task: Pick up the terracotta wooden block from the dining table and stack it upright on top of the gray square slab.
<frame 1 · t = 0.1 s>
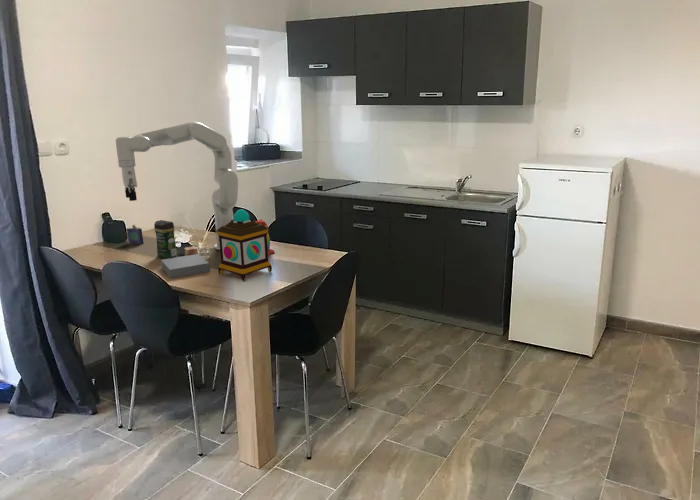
hand: (131, 198, 281), 31 cm above the table, tool pointing down, fingers open, 9 cm apart
terracotta block: (191, 259, 289), on the table
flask: (136, 244, 321), on the table
coffee jar: (167, 256, 296), on the table
stacking bear: (262, 254, 296), on the table
gray square slab: (185, 269, 273), on the table
decorative lantern: (245, 273, 266), on the table
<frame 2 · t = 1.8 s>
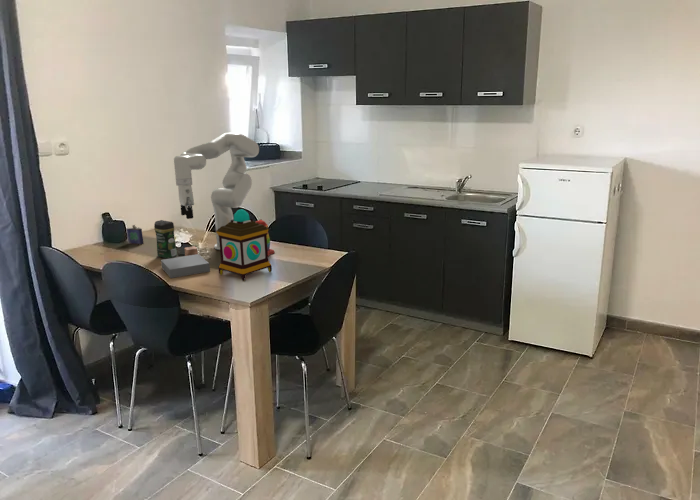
hand: (187, 216, 283), 22 cm above the table, tool pointing down, fingers open, 9 cm apart
nothing on the table moved.
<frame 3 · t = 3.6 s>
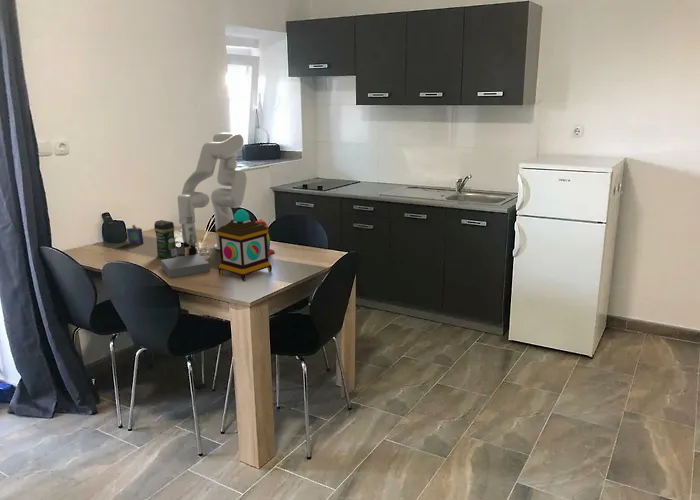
hand: (190, 253, 288), 3 cm above the table, tool pointing down, fingers open, 9 cm apart
nothing on the table moved.
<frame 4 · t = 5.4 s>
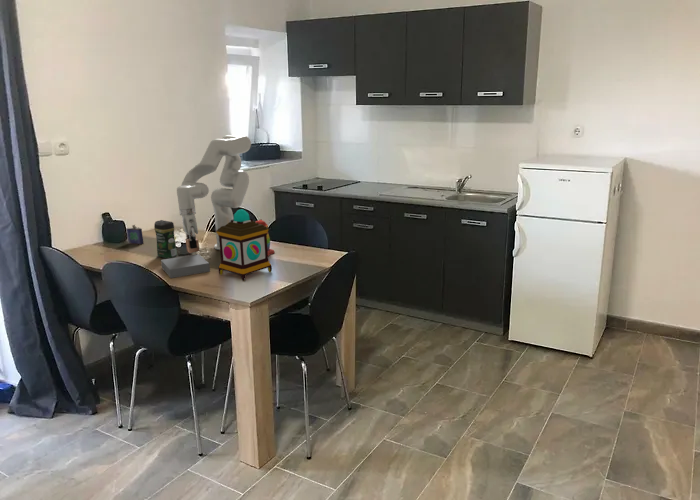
hand: (192, 246, 288), 7 cm above the table, tool pointing down, fingers closed on terracotta block, 4 cm apart
terracotta block: (193, 250, 289), point 4 cm above the table, touching gripper
everything else where it was.
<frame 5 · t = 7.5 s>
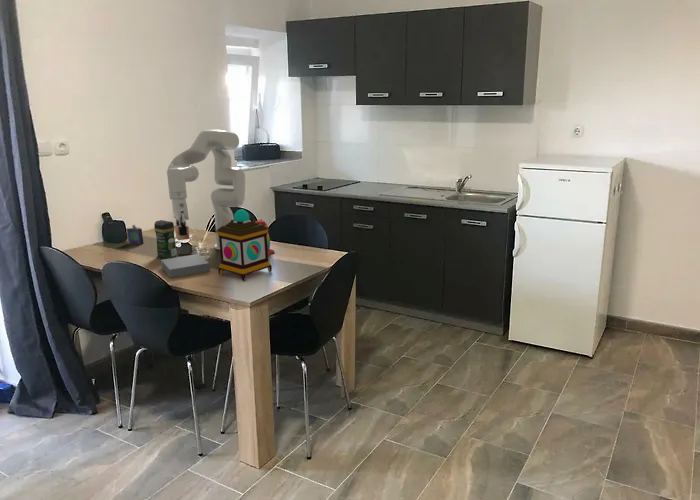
hand: (181, 233, 269), 17 cm above the table, tool pointing down, fingers closed on terracotta block, 4 cm apart
terracotta block: (182, 238, 269), point 15 cm above the table, touching gripper
everything else where it was.
when the fingers open (6 cm above the table, at t = 9.9 s): terracotta block stays where it is, resting on gray square slab.
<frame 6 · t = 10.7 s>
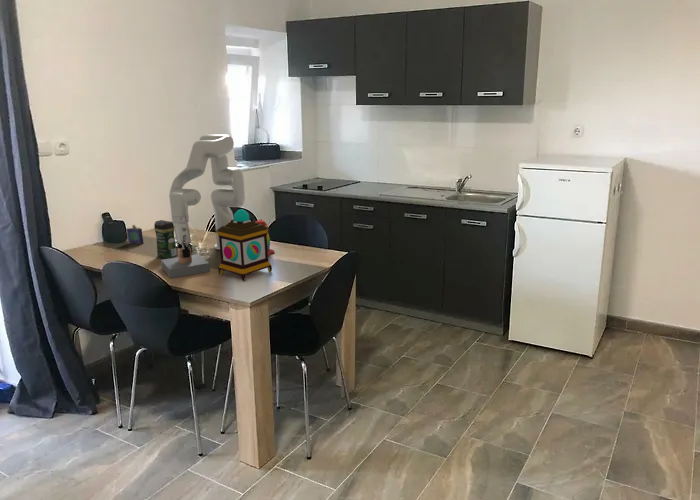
hand: (184, 254, 271), 7 cm above the table, tool pointing down, fingers open, 9 cm apart
terracotta block: (185, 261, 272), point 4 cm above the table, touching gray square slab
everything else where it was.
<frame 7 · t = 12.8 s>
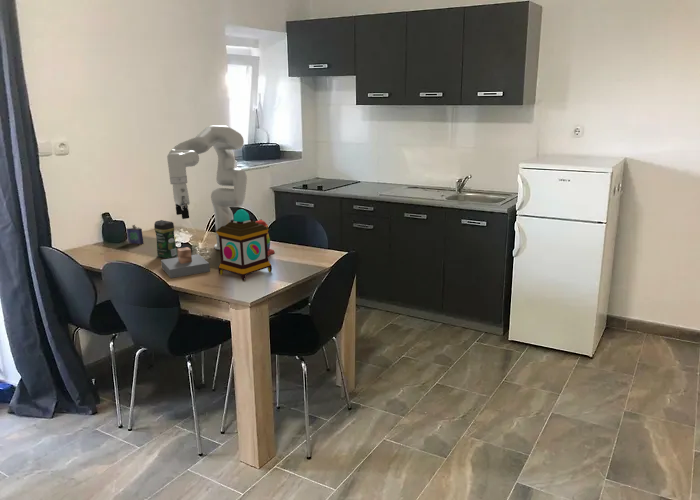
hand: (182, 216, 271), 25 cm above the table, tool pointing down, fingers open, 9 cm apart
nothing on the table moved.
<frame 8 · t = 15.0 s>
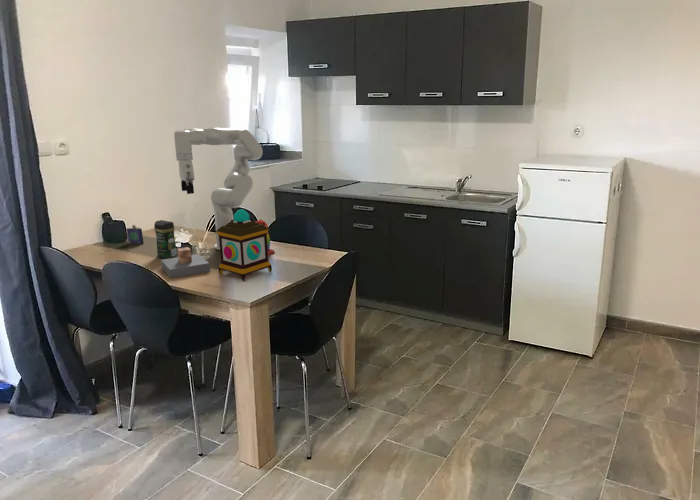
hand: (187, 192, 284), 33 cm above the table, tool pointing down, fingers open, 9 cm apart
nothing on the table moved.
at the end: terracotta block inside the target area on the gray square slab (0.2 cm from its centre), point 4.0 cm above the gray square slab's base; terracotta block tilted 0°; the gripper is holding nothing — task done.
